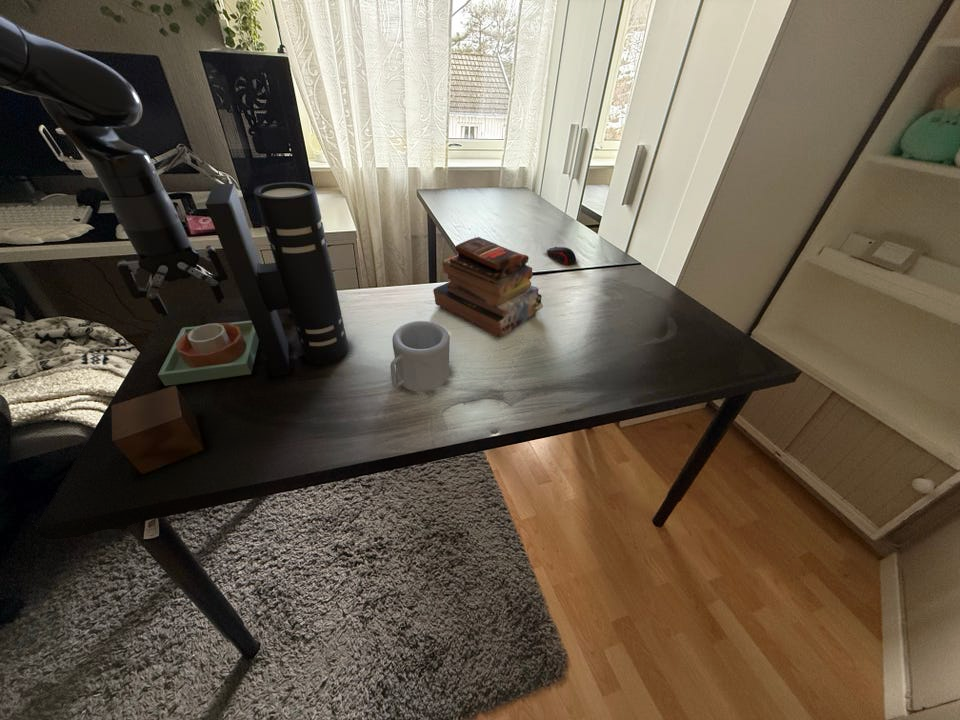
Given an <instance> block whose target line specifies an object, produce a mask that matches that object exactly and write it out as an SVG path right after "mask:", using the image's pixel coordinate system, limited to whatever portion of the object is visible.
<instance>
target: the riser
mask: <svg viewBox="0 0 960 720" xmlns="http://www.w3.org/2000/svg"><path fill="white" fill-rule="evenodd" d="M111 441H112V442H113V444H114V445H115V446H116V447H117V448H118V449H119V450H120V451H121V453H122V454H123V455H124V456H125V457H126V459H128V460H129V461H130V463H131V464H132V465H133V466H134V468H136V469H137V471H139V473H140V474H141V475H145V474H147V473H150V472H152V471H155V470H157V469H160V468H163V467H165V466H167V465H170V464H172V463H175V462H178V461H180V460H182V459H185V458H187V457H189V456H192V455H195V454H197V453H199V452H202V451H204V450H205V449H204V444H203V440H202V436H201V432H200V428H199V424H198V420H197V417H196V415H195V414H194V412H193V411H192V410H191V408H190V406H189V404H188V403H187V401H186V400H185V398H184V397H183V395H182V393H181V392H180V390H179V388H178V387H177V386H176V385H171V386H168V387H166V388H162V389H160V390H156V391H154V392H151V393H146V394H144V395H140V396H137V397H134V398H132V399H128V400H125V401H122V402H119V403H116V404H113V405H111Z"/></svg>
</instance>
